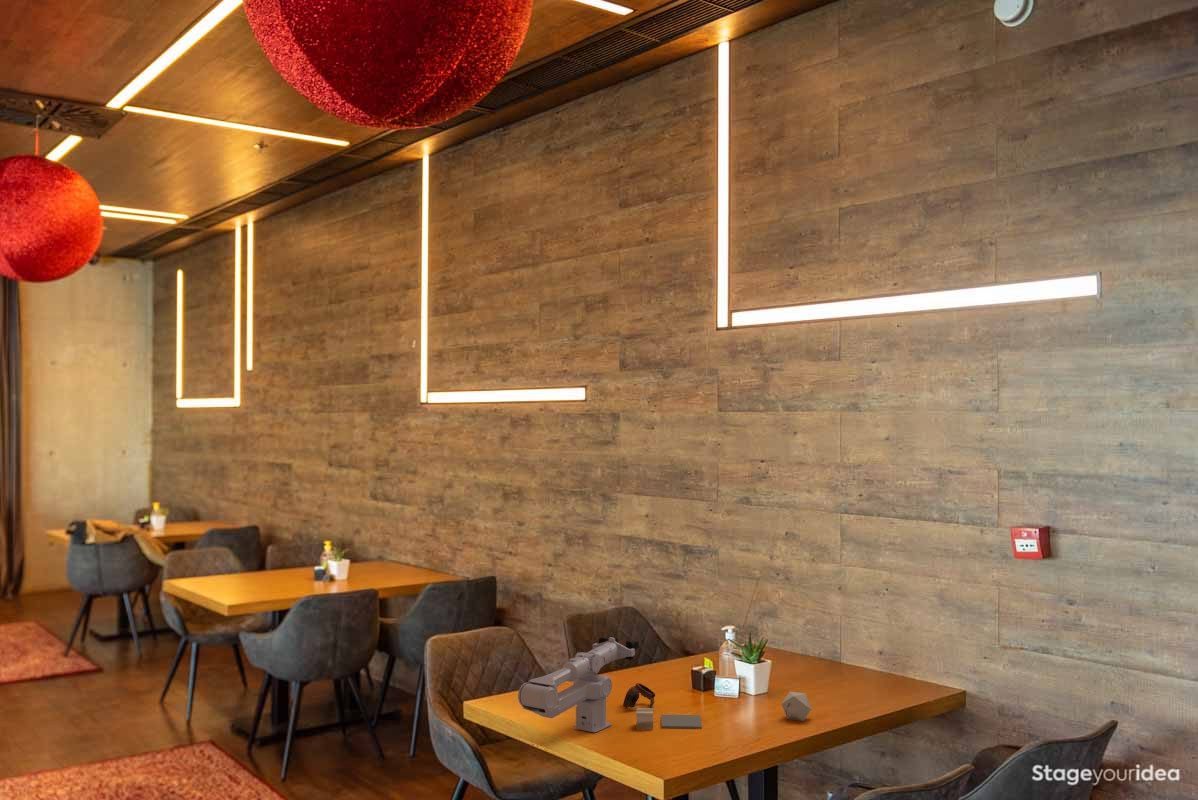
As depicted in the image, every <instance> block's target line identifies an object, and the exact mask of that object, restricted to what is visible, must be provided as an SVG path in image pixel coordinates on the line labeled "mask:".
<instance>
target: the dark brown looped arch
mask: <svg viewBox="0 0 1198 800" xmlns="http://www.w3.org/2000/svg"><path fill="white" fill-rule="evenodd" d="M640 695H641V696H643V697H644V698H647V700H649V701H650V703H649V707H648V708H653V706H654V704H655V697H656V693H655V692H654V691H653V690H652V689H650V688H649V687H647V686H646V685H644V684H642V683H636V684H635V685H633V686H631V687H630V688H629V689H627V691H626V694H625V696H624V700H623V703H622V705H623V708H625V709H628V707H629V708H635V706H636V703H637V702H638V700H639V698H640Z"/></svg>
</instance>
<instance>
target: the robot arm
mask: <svg viewBox="0 0 1198 800" xmlns="http://www.w3.org/2000/svg"><path fill="white" fill-rule="evenodd" d="M591 645H592V649H591V650H590V651H587V652H584V651H583V652H581V651H580V652H579V651H578V652H577V653H576V654H575V656H574V657H571V658H569V659H568V660H569V661H566V662H564V663H563V665H562V667H561V669H558V670H556V671H553V672H551V673H549V674H546V675H542V676H539V677H536V678H535V677H534V678H532V679H530V680H528V682H524V683H522V684H521V686H520V687H519V689H518V693H517V700H518V703H519V704H520V706H521V708H522V709H524V710H526V711H529V712H532V713H534V714H535V715H536V714H537V715H538V716H540V717H543V718H548V719H553V718H555V717H557V716H559V715H560V714H563V713H565V712H566V711H568V710H570V709H571V708H574V707H575V706H576V707H575V726H573V729H575V730H579V731H585V732H590V733H598V732H600V731H603V730H604V729H606V728H608V727H610V726H612V725H613V723H612V722H607V698H608V697H609V696H610V694H611V692H612V689H613V682H612V681H613V680H612V679H611V677H610V676H608V675H600V674H598V673H599V671H600V670H601V668H602V667H604V666H605V665H607V664H610V663H612V662H613V661H618V660H620V659H624V658H625V659H626V660H633V659H634V658H635V655H636V651H637V650H638V649H639V647H640V645H639V640H634V641H629V640H628V641H627V640H626V641H625V645H623V644H621V643H619V638H618V637H611V636H610V637H608V638H606V637H600V638H598V643H597V642H596V643H593V644H591ZM565 682H571V683H572V682H573V684H572V685H570V686H568V687H566V688H565V689H563V690H561V691H558V687H559V686H561V685H563V684H564V683H565Z"/></svg>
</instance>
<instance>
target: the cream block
mask: <svg viewBox="0 0 1198 800" xmlns="http://www.w3.org/2000/svg"><path fill="white" fill-rule="evenodd" d="M635 715H636V716H635V720H636V723H635V725H636V728H635V729H636V730H640V731H643V730H648V731H651V730H652V731H653V730H654V708H653V707H652V708H650V707H643V708H641V707H637V708H636V712H635Z"/></svg>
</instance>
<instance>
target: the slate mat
mask: <svg viewBox="0 0 1198 800" xmlns="http://www.w3.org/2000/svg"><path fill="white" fill-rule="evenodd" d="M702 728H703V726H702V718H701V715H700V714H661V729H687V730H688V729H690V730H691V729H694V730H695V729H698V730H699V729H701V730H702Z"/></svg>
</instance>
